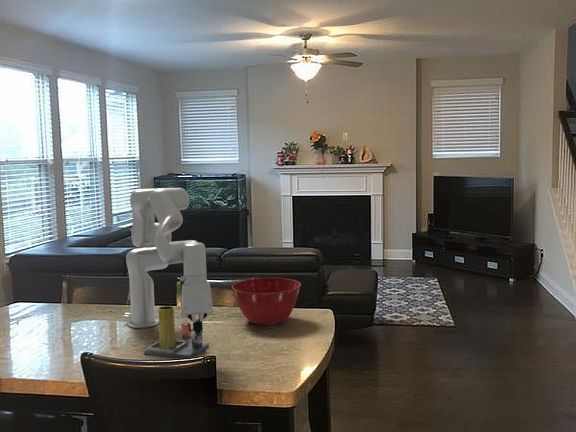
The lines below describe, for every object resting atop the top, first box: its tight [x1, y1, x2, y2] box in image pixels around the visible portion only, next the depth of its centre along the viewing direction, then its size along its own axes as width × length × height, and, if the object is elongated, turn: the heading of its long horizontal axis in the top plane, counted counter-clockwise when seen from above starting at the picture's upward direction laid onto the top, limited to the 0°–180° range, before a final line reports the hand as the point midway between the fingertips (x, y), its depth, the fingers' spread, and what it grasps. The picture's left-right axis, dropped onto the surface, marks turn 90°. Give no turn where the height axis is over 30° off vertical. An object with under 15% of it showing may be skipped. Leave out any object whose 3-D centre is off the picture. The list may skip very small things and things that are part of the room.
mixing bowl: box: [231, 277, 302, 326], centre depth 250 cm, size 28×28×16 cm
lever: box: [181, 322, 204, 343], centre depth 209 cm, size 15×4×6 cm, turn 171°
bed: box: [143, 334, 210, 359], centre depth 213 cm, size 18×14×5 cm
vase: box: [158, 305, 177, 349], centre depth 213 cm, size 6×6×14 cm
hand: (198, 332), depth 204 cm, fingers closed
